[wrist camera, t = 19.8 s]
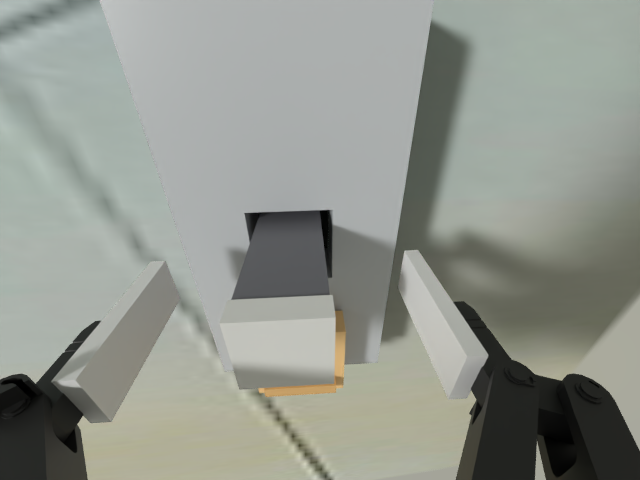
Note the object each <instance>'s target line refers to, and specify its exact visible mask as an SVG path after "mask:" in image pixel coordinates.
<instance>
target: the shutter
mask: <svg viewBox="0 0 640 480" xmlns="http://www.w3.org/2000/svg"><path fill="white" fill-rule="evenodd" d="M335 316H336V326H335V374H334V384H321V385H305V386H288V387H272V388H259V393H265V396H266V397H272V396H288V395H304V394H320V393H336V388H343V379H344V360H345V341H346V329H345V323H344V317H343V311H335Z"/></svg>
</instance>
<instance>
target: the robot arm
mask: <svg viewBox="0 0 640 480" xmlns="http://www.w3.org/2000/svg"><path fill="white" fill-rule="evenodd" d="M398 290H399V292H400V294H401V296H402V298H403V301H404V303H405V305H406V307H407V309H408V312H409V314H410V316H411V318H412V320H413V323H414V325H415V327H416V329H417V331H418V334H419V336H420V338H421V340H422V343H423V345H424V347H425V349H426V351H427V354H428V356H429V358H430V360H431V362H432V365H433V367H434V369H435V371H436V373H437V376H438V378H439V380H440V382H441V384H442V387H443V389H444V391H445V393H446V395H447V398H448V399H463V398H467V397H468V395H469V393H470V391H471V390H472V392H473V394H474V396H475V398H476V399H477V400H476V402H475V404H474V406H473V408H472V409H471V411H470V413H469V414H471V415H472V416H471V420H470V424H469V428H468V432H467V436H466V440H465V444H464V448H463V453H462V457H461V461H460V465H459V469H458V473H457V477H456V480H535V465H536V445H537V441H538V446H539V451H540V455H541V459H542V464H543V468H544V472H545V477H546V480H640V451H639V449H638V447H637V445H636V443H635V441H634V439H633V436H632V435H631V432H630V431H629V428H628V426H627V424H626V422H625V420H624V418H623V416H622V414H621V412H620V410H619V408H618V406H617V404H616V402H615V400H614V399H613V398H612V396H611V395H610V393H609V392H608V391H607V390H606V389H605V388H603V387H602V386H601V385H600V384H598V383H597V382H595V381H594V380H592V379H590V378H587V377H585V376H583V375H579V374H569V375H566V377H565V378H564V379H563V380H562V381H560V380H556V379H551V378H547V377H543V376H538V375H535V374H534V373H533V372H532V371H531V370H530V369H528V368H527V367H526V366H524V365H523V364H521V363H519V362H517V361H514V360H512V359H511V358H510V357H509V356H508V355H507V353H506V352H505V350H504V349H503V348H502V346H501V345H500V344H499V342H498V341H497V340H496V338H495V337H494V336H493V334H492V333H491V332H490V330H489V329H488V328H487V326H486V325H485V324H484V322H483V321H481V318H480V317H479V315H478V314H477V313H476V311H475V310H474V309H473V308H472V307H470V306H469V305H468V304H466V303H465V302H464V301H463V302H453V301H452V300H451V298H450V297H449V295H448V294H447V292H446V291H445V289H444V288H443V286H442V285H441V283H440V282H439V280H438V279H437V277H436V276H435V275H434V273H433V272H432V270H431V269H430V267H429V266H428V264H427V263H426V261H425V260H424V258H423V257H422V255H421V254H420V252H419V251H418V250H405V251H404V256H403V262H402V267H401V273H400V278H399V284H398ZM179 300H180V297H179V294H178V292H177V289H176V286H175V284H174V281H173V279H172V276H171V274H170V271H169V269H168V266H167V264H166V261H152V262H150V263H149V265H148V266H147V267H146V268H145V269H144V271H143V272H142V273H141V274H140V275H139V277H138V278H137V279H136V280H135V281H134V283H133V284H132V285H131V286H130V287H129V289H128V290H127V291H126V292H125V293H124V295H123V296H122V297H121V298H120V299H119V301H118V302H117V303H116V304H115V305H114V307H113V308H112V309H111V310H110V311H109V313H108V314H107V315H106V316H105V317H104V319H103V320H102V321H95V322H94V323H92V324H91V325H89V326H88V327H87V328H85V329H84V330H83V331H82V332H81V333H80V334H79V335H78V336H77V337H76V339H75V340H74V341H73V344H70V345H69V347H68V348H67V349H66V350H65V353H62V355H61V356H60V357H59V358H58V359H57V360H56V361H55V363H54V364H53V365H52V366H51V367H50V368H49V369H48V371H47V372H46V373H45V374H44V375H43V376H42V377H41V379H40V380H39V381H38V382H37V383H36V384H35V383H34V382H33V381H32V380H31V379H30V378H29V377H28V376H27V375H24V374H16V375H11V376H8V377H6V378H3V379H1V380H0V480H88V479H87V472H86V465H85V458H84V451H83V444H82V438H81V431H80V429H79V427H78V425H77V424H78V422H79V421H80V419H81V418H82V416H84V417H85V418H86V419H87V420H88V421H89V422H90V423H100V422H111V421H112V420H113V418H114V416H115V414H116V412H117V411H118V409H119V407H120V405H121V404H122V402H123V400H124V398H125V396H126V395H127V393H128V391H129V389H130V387H131V386H132V384H133V382H134V380H135V378H136V377H137V375H138V373H139V371H140V370H141V368H142V366H143V364H144V362H145V361H146V359H147V357H148V355H149V353H150V352H151V350H152V348H153V346H154V345H155V343H156V341H157V339H158V337H159V336H160V334H161V332H162V330H163V328H164V327H165V325H166V323H167V321H168V320H169V318H170V316H171V314H172V312H173V311H174V309H175V307H176V305H177V303H178V302H179Z"/></svg>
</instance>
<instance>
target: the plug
mask: <svg viewBox="0 0 640 480" xmlns="http://www.w3.org/2000/svg"><path fill="white" fill-rule="evenodd" d="M219 324H220V327H221V331H222V334H223V337H224V341H225V344H226V347H227V350H228V354H229V357H230V360H231V363H232V367H233V370H234V373H235V376H236V380H237V383H238V386H239V389H255V388H272V387H288V386H305V385H321V384H334V374H335V326H336V316H335V309H334V301H333V295H330V292H329V283H328V275H327V267H326V259H325V251H324V242H323V234H322V226H321V218H320V210H311V211H283V212H260V214H259V217H258V220H257V223H256V226H255V229H254V233H253V236H252V239H251V242H250V245H249V248H248V251H247V254H246V257H245V260H244V263H243V266H242V269H241V272H240V275H239V278H238V281H237V284H236V287H235V290H234V293H233V296H232V299H231V300H227V303H226V306H225V309H224V312H223V314H222V317H221V320H220V323H219Z"/></svg>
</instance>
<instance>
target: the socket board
mask: <svg viewBox="0 0 640 480" xmlns="http://www.w3.org/2000/svg"><path fill="white" fill-rule="evenodd" d="M100 3H101V6H102V9H103V12H104V14H105V17H106V20H107V23H108V26H109V29H110V32H111V35H112V38H113V41H114V44H115V47H116V50H117V53H118V56H119V59H120V62H121V65H122V68H123V71H124V74H125V77H126V80H127V83H128V86H129V89H130V92H131V95H132V98H133V101H134V103H135V106H136V109H137V112H138V115H139V118H140V121H141V124H142V127H143V130H144V133H145V136H146V139H147V142H148V145H149V148H150V151H151V154H152V157H153V160H154V163H155V166H156V169H157V172H158V175H159V178H160V181H161V184H162V187H163V190H164V192H165V195H166V198H167V201H168V204H169V207H170V210H171V213H172V216H173V219H174V222H175V225H176V228H177V231H178V234H179V237H180V240H181V243H182V246H183V249H184V252H185V255H186V258H187V261H188V264H189V267H190V270H191V273H192V276H193V279H194V281H195V284H196V287H197V290H198V293H199V296H200V299H201V302H202V305H203V308H204V311H205V314H206V317H207V320H208V323H209V326H210V329H211V332H212V335H213V338H214V341H215V344H216V347H217V350H218V353H219V356H220V359H221V362H222V365H223V368H224V370H225V371H234V370H233V367H232V363H231V360H230V357H229V354H228V350H227V347H226V344H225V341H224V337H223V334H222V331H221V327H220V324H219V323H220V320H221V317H222V314H223V312H224V309H225V306H226V303H227V300H231V299H232V296H233V293H234V290H235V287H236V284H237V281H238V278H239V275H240V272H241V269H242V266H243V263H244V260H245V257H246V254H247V251H248V248H249V245H250V242H251V239H252V236H253V233H254V229H255V226H256V223H257V220H258V217H259V215H258V212H283V211H311V210H328V248H324V251H325V259H326V267H327V275H328V283H329V292H330V295H333V301H334V309H335V311H343V317H344V323H345V329H346V341H345V360H344V365H345V364H362V363H377V361H378V355H379V349H380V342H381V336H382V330H383V323H384V317H385V310H386V304H387V298H388V291H389V285H390V278H391V272H392V266H393V259H394V253H395V247H396V240H397V234H398V227H399V221H400V215H401V208H402V202H403V195H404V189H405V183H406V176H407V170H408V164H409V157H410V151H411V144H412V138H413V132H414V125H415V119H416V113H417V106H418V100H419V93H420V87H421V81H422V74H423V68H424V61H425V55H426V49H427V42H428V36H429V30H430V23H431V17H432V10H433V4H434V0H100Z"/></svg>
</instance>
